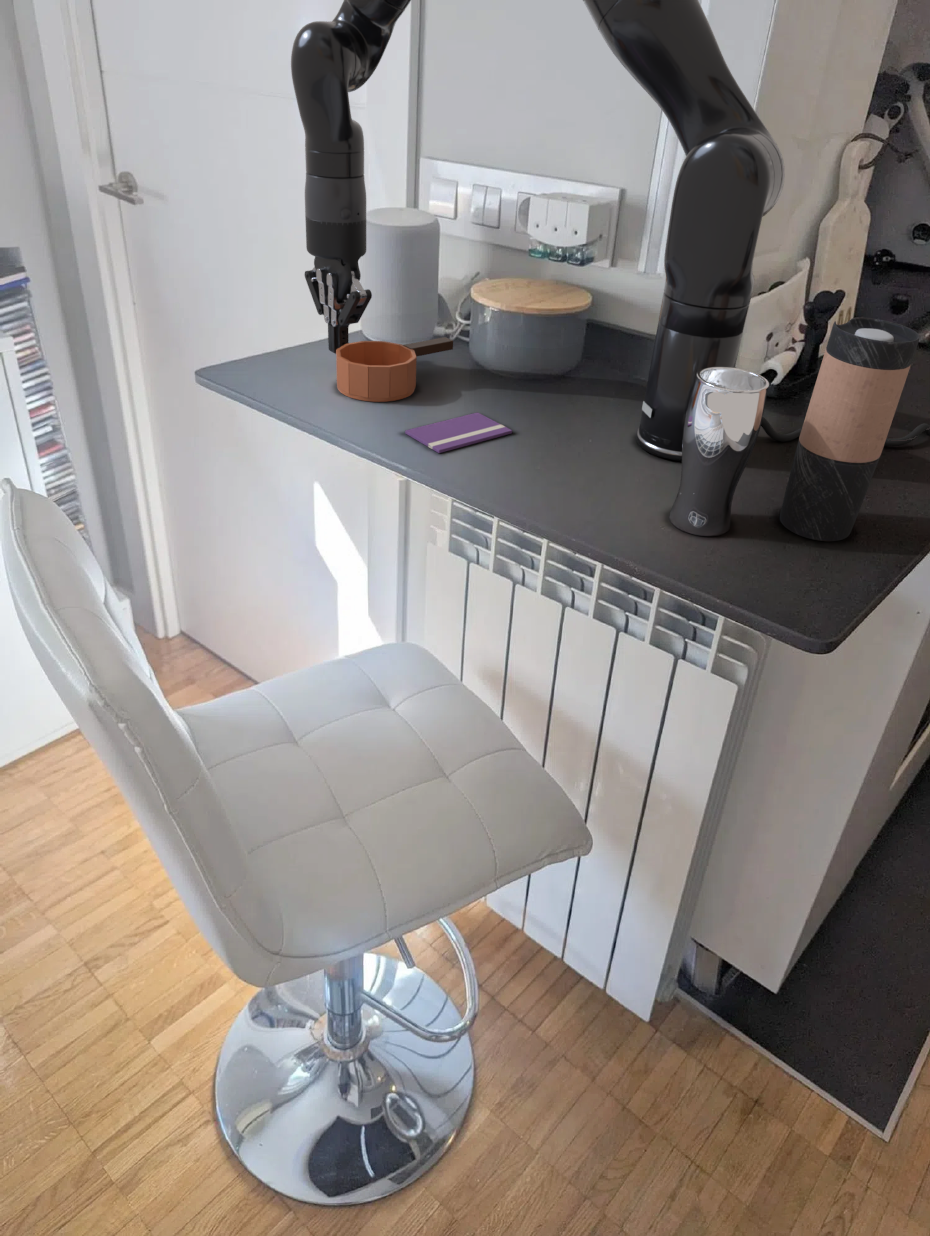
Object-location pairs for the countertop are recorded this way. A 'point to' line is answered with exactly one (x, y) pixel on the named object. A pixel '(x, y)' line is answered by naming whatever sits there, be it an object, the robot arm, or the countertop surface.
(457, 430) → the towel
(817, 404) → the travel mug
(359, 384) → the pan
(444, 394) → the countertop surface
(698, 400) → the beer glass
